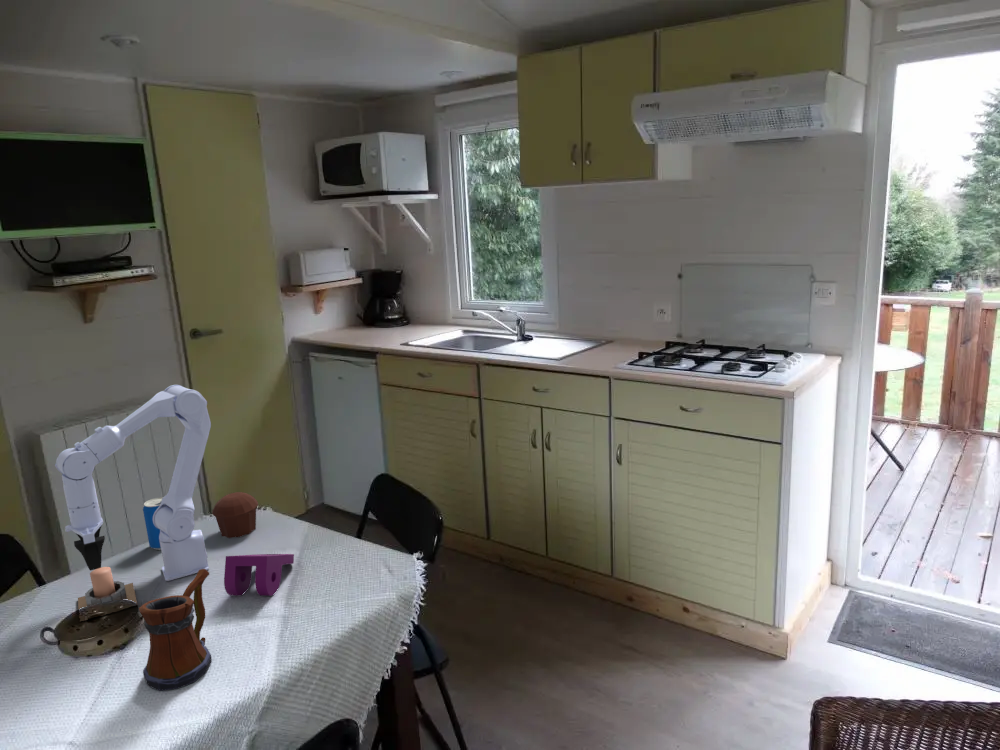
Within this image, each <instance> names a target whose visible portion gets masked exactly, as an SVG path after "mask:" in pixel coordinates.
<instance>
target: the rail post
mask: <svg viewBox="0 0 1000 750" xmlns="http://www.w3.org/2000/svg"><path fill="white" fill-rule="evenodd" d="M89 576H90V581H91V584H92V585H91V586H92V588H93V591H94V595H95V598H98V597H104V596H108V595H111V594H113V593H115V592H116V591H115V587H114V582H113V581H114V577H113V574H112V568H111V567H109V566H101V568H98V569H95V570H91V572H90V573H89Z"/></svg>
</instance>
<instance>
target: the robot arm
mask: <svg viewBox="0 0 1000 750" xmlns="http://www.w3.org/2000/svg"><path fill="white" fill-rule="evenodd" d="M207 405H208V401H207V400H206V398H205V397H204V396H203V395H202V393H201V392H199V391H198V390H195V389H190V388H187V387H184V386H183V385H180V384H173V385H172V384H171V385H169V386H168V387H166V388H165V389H164V390H161V391H159V392H157V393H156V394H155V395H154V396H152V397H151V398H150V399H149V400H148V401H147V402H145V403H144V404H143V405H142V406H140V407H138V408H137V409H136V410H135V411H133V412H132V413H130V414H129V415H127V416H126V417H125V418H124V419H123V420H121V421H120V422H119V423H117V424H116V425H104V426H102V427H101V426H98V427H96V428H95V429H93V430H94V433H92V434H91V435H90V436H89V435H88V437H86V438H85V439H84V440H82V441H81V442H79V441H77V442H75V443H74V445H73V447H70V448H67V449H66V448H65V449H64V450H63V451H60V453H59V454H58V457H56V460H55V464H54V466H55V468H56V470H57V471H58V472H59V473H61V479H62V484H63V485H62V487H63V493H64V497H65V502H66V507H67V511H68V515H69V516H68V517H69V521H70V524H69V525H65V527H64V528H65V529H64V530H65V532H66V533H67V532H73V533H75V535H76V536H77V537H78V540H74V541H73V545H74V548H75V549H77V550H78V552H79V553H80V554H81V556H82V557H83V560H84V562H85V564H86V566H87V568H88V570H89V571H91V572H92V571H93V570H95V569H98V568H101V567H102V552H103V551H102V550H103V546H104V543H105V540H106V537H105V535H101V534H100V532H101V529H102V526H103V524H104V520H103V517H102V516H101V515H102V514H101V509H100V503H99V499H98V495H97V490H96V485H95V480H94V477H93V472H94V470H95V468H96V467H95V466H96V465H98V464H100V463H102V462H103V461H105V460H107V458H108V457H110V456H111V455H113V454H114V453H115V452H117V451H118V450H121V448H123V447H124V446H125V441H126V438H128V437H129V436H131V435H133V434H134V433H136V432H137V431H139V430H141V429H142V428H144V427H145V426H147V425H149V424H150V423H151V422H154V421H155V420H157V419H158V418H175V417H177V419H178V420H179V421H180V423H181V424H182V425H183V427H184V432H183V436H182V439H181V443H180V447H179V451H178V454H177V458H176V461H175V465H174V468H173V473H172V477H171V480H170V483H169V488H168V492H167V494H165V495H164V496H163V498H162V501H161V504H160V506H159V507H158V509H157V510H156V511H155V513H154V515H153V524H154V525H155V527H156V528H158V529H160V535H159V541H160V546H161V550H160V553H161V557H162V563H163V566H161V571H162V574H163V577H164V580H165V582H170V581H174V580H177V579H181V578H184V577H188V576H190V575H194V574H197V573H198V571H199V570H201V569H206V570H207V571H209V569H210V567H209V562H208V553H207V550H206V545H205V539H204V535H203V532H202V529H195V523H196V522H195V518H194V515H195V510H196V509H195V506H194V502H193V496H194V491H195V488H196V484H197V480H198V478H199V473H200V469H201V465H202V461H203V458H204V454H205V451H206V448H207V443H208V439H209V434H210V431H211V427H212V423H211V419H210V418H211V417H210V415H209V411H208V407H207ZM100 535H101V536H100Z"/></svg>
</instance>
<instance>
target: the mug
mask: <svg viewBox="0 0 1000 750" xmlns="http://www.w3.org/2000/svg"><path fill="white" fill-rule="evenodd" d="M209 575H210V572H209V570H206V569H201V570H199V571H198V573H196V576H195V577H194V578H193V579H192V581H191V582H190V583H189V584H188V585H187V586H186V588H185V590H184V591H183V594H181V595H180V594H177V595H170V596H164V597H159V598H156V599H152V600H149V601H147V602H145V603H144V604H141V606H140V607H139V608H138V610H139V614H140V615H141V616H142V618H143V619H144V623H143V626H144V628H145V629H146V630H147V632H148V633H149V652H148V658H147V661H146V665H145V667H144V668H143V670H142V674H143V675H142V676H143V677H144V680H145V682H146V684H147V686H149V688H152V689H154V690H157V691H159V692H163V691H171V690H177V689H180V688H183V687H185V686H188V685H191V684H193V683H195V682H196V681H198V679H200V678H201V677H202V676H204V675H205V674H206V673H207V671H208V669H210V668H209V667H210V666H211V664H212V660H213V659H212V654H211V653H210V651H209V649H208V647H207V646H205V645H206V637H201V636H200V635H201V631H202V628H203V626H204V622H205V619H206V607H205V604H204V600H203V584H204V582H205V581H206V579H207V577H209ZM192 594H193V599H192V598H191V596H192ZM194 613H195V616H194ZM195 617H196V618H195ZM194 619H195V620H196V621H195V625H194V624H193V622H194ZM200 637H201V638H200Z"/></svg>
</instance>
